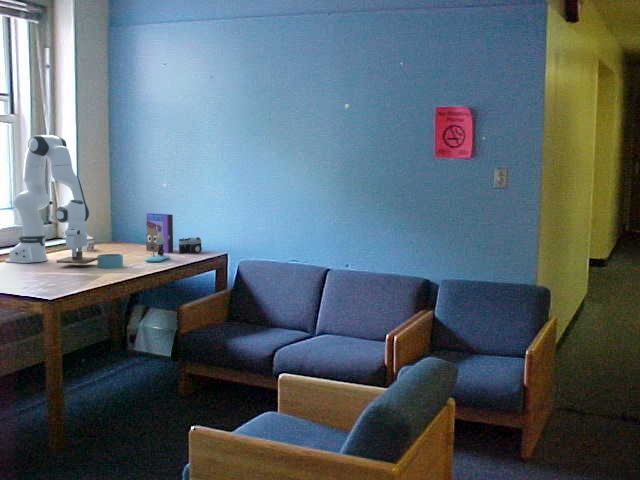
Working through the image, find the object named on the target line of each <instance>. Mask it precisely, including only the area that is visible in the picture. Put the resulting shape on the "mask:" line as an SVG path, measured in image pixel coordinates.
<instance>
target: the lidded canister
mask: <svg viewBox="0 0 640 480" xmlns="http://www.w3.org/2000/svg"><path fill="white" fill-rule="evenodd" d="M86 234H87V245H86V246H83V247H82V253H91V252H95V238H94V237H93V236H90V235H89V234H88V233H86Z"/></svg>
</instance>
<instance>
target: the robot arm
mask: <svg viewBox="0 0 640 480" xmlns="http://www.w3.org/2000/svg"><path fill="white" fill-rule="evenodd" d="M27 147H28V148H27V150H26V152H25V156H24V157H25V158H24V163H23V177H22V178H23V181H24V183H25V185H26V191H22V192H20V193H19V194H16V196H15V197H14V201H13V204H14V207H15V208H16V209H17V210H18V213H19V215H20V218H21V224H22V236H20V237H18V241H19V242H18V243H17V244H16V245H14V247H12V249H10V251H9V254H8V255H9V256H8V258H5V260H4V262H5V263H21V264H22V263H23V264H28V263H39V262H47V261H49V258H48V255H47V252H46V236H45V226H44V220H43V218H42V217H41V215H40V212H39V211H40V210H43V209H45V208H47V206H49V204H50V199H51V197H50V196H49V194H48V192H47V189H46V182H45V181H46V179H45V178H46V177H45V176H46V163H47V162H46V161H47V158H49V165H50V173H51V174H50V175H51V177H52V178H53V179H54V180H55V182H57V183H59V184H61V185H64V186H66V187H68V188H69V189H70V191H71V193H72V196H73V199H70V200H69V201H68V203H65V204H63V205H59V206H58V207H57V208H56V211H55V218H56V220H57V221H58V222H59V223H61V224H68V226H67V228H66V230H65V231H64V235H65V248H66V250H69V251H70V250H71V253H72V252H73V257H77V252H76V251H82V247H83V246H86V245H87V234H88V233H87V232H86V228H87V227H86V222H87V220H88V219H89V217H90V210H89V208H88V206H87V202H86V199H85V195H84V191H83V188H82V184H81V182H80V179H79V177H78V176H77V175H76V174H75V171H74V169H73V164H72V163H73V162H72V158H71V154H70V151H69V149H68V148H67V142H66V140H65V138H63V137H61V136H59V135H52V134H37V135H36V134H35V135H32V136H31V137H30V138H29V139H28V141H27Z"/></svg>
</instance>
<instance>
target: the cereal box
mask: <svg viewBox="0 0 640 480" xmlns="http://www.w3.org/2000/svg"><path fill="white" fill-rule="evenodd" d="M173 218H174V217H173V214H170V213H169V214H167V213H151V212H149V213H145V238H148V242H145V246H146V247H145V248H146V252H152V253H153V252H154V253H158V252H157V251H158V249H159V248H158V246H159V245H157V241H156V236H157V235H158V234H161V235H162V238H165V239H164V240H165V241H166V242H163V244H164V245H163V249H164V254H172V253H174V228H173V226H174V223H173ZM153 239H154V241H153ZM153 244H154V246H153ZM151 245H152V246H151ZM150 246H151V247H150ZM164 246H165V247H164ZM148 250H149V251H148Z"/></svg>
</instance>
